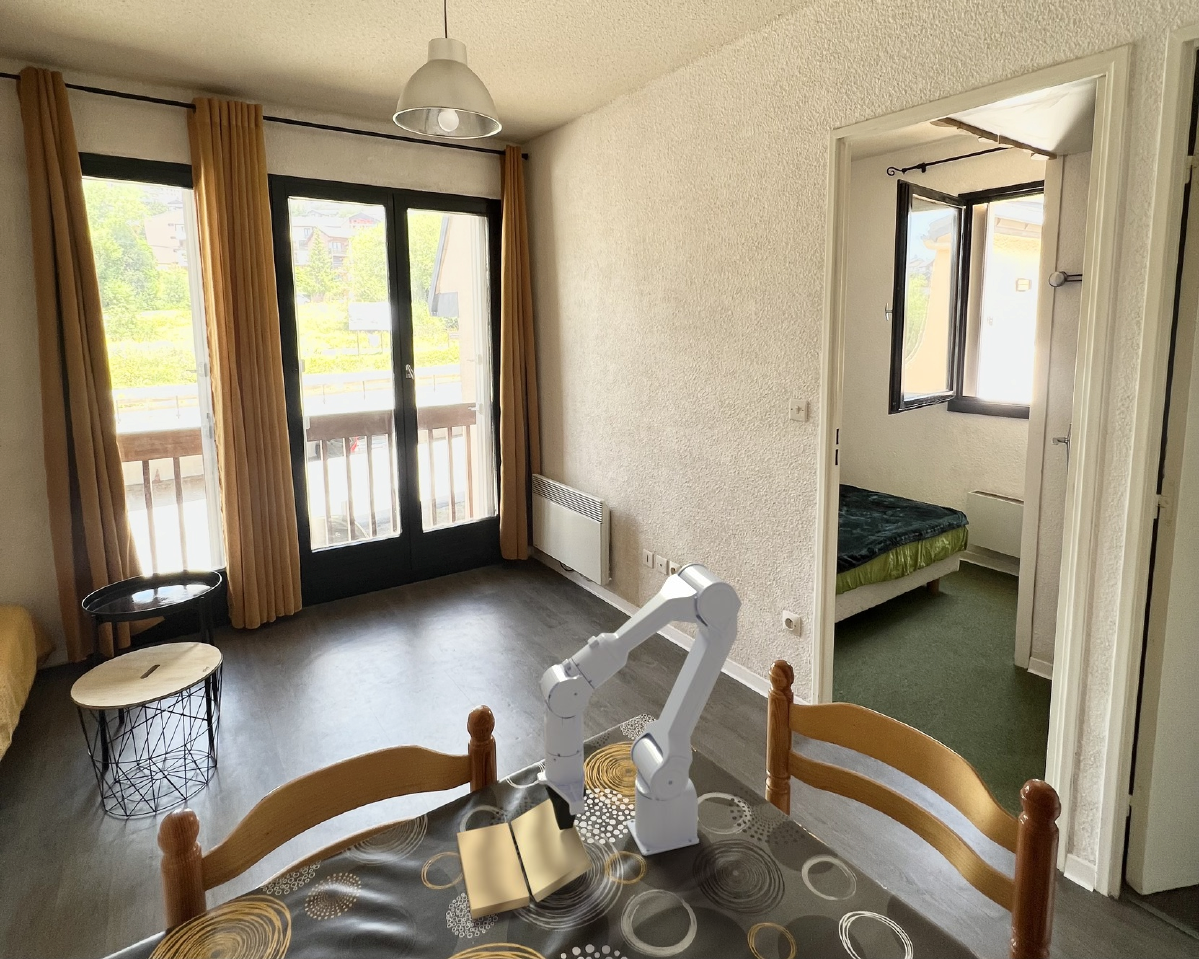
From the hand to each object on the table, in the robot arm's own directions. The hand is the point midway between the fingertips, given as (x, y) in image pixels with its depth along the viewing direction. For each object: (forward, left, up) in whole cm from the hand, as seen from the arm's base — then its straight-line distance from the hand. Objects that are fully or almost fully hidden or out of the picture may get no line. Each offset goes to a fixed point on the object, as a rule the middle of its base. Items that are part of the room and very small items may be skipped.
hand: (565, 826), depth 113 cm
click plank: (+2, 0, -3) cm, 4 cm away
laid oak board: (+11, 0, -5) cm, 12 cm away
